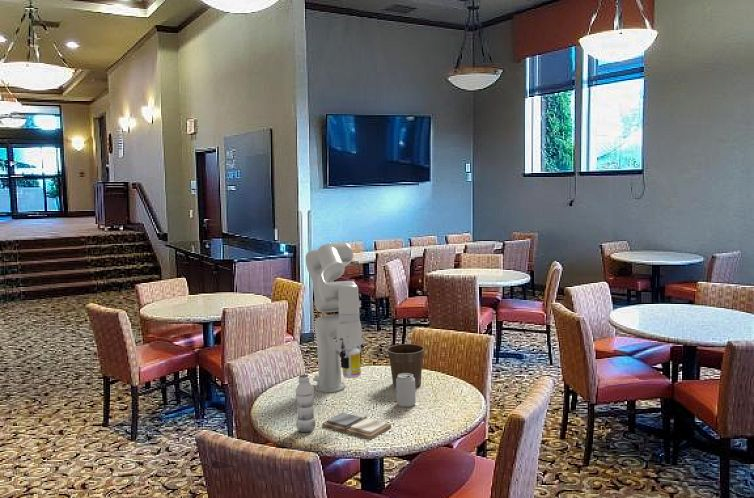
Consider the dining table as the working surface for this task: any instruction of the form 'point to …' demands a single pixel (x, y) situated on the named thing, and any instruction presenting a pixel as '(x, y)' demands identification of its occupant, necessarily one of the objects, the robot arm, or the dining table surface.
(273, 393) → the dining table surface
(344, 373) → the supplement bottle
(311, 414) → the plastic bottle
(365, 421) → the makeup compact
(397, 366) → the plant pot
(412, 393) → the can
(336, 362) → the robot arm
